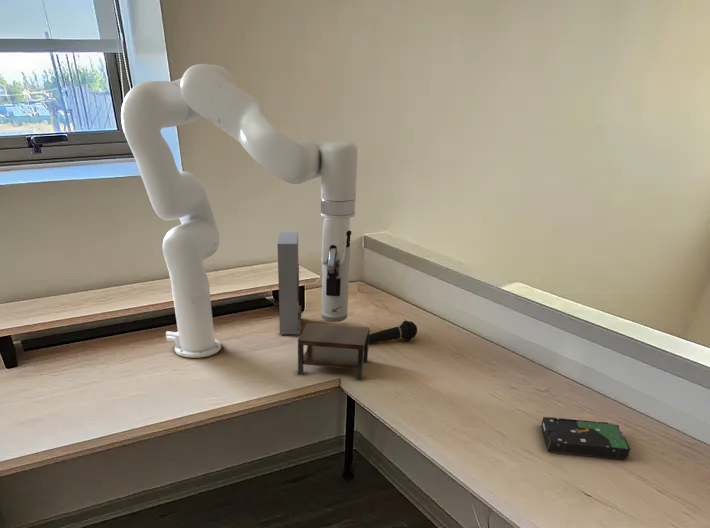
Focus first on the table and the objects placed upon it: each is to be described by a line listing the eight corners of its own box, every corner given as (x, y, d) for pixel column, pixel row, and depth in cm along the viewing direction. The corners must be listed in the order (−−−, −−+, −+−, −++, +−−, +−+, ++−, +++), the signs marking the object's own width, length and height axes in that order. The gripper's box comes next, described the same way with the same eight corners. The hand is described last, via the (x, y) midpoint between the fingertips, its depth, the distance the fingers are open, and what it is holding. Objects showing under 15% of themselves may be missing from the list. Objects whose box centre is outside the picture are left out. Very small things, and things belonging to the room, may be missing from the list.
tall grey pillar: (300, 335, 161) (300, 243, 146) (279, 335, 161) (277, 243, 147) (301, 318, 172) (300, 232, 158) (281, 318, 172) (279, 232, 158)
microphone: (350, 357, 155) (418, 343, 157) (351, 341, 151) (421, 326, 152) (345, 345, 158) (411, 330, 160) (345, 328, 154) (414, 314, 156)
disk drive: (546, 454, 110) (627, 460, 107) (550, 441, 108) (632, 448, 106) (539, 427, 118) (614, 433, 116) (542, 416, 117) (618, 421, 114)
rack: (298, 374, 140) (297, 340, 134) (308, 355, 149) (308, 322, 144) (361, 380, 137) (363, 345, 132) (367, 360, 146) (369, 327, 141)
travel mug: (338, 324, 132) (341, 234, 120) (316, 318, 135) (317, 230, 123) (353, 317, 136) (357, 229, 124) (331, 311, 139) (333, 225, 127)
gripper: (328, 200, 129) (326, 279, 139) (313, 215, 115) (312, 301, 126) (360, 201, 127) (356, 281, 138) (349, 216, 114) (345, 303, 124)
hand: (335, 290), depth 132 cm, fingers closed on travel mug, 6 cm apart
